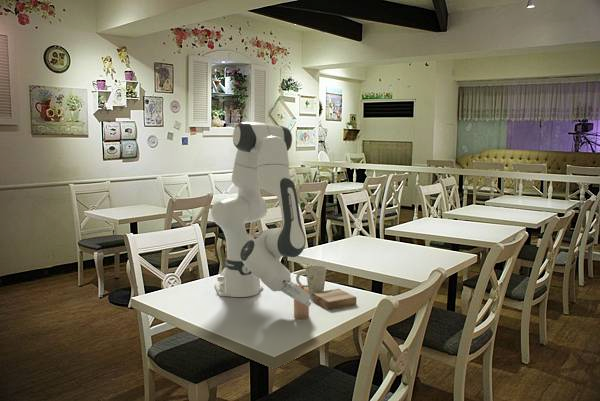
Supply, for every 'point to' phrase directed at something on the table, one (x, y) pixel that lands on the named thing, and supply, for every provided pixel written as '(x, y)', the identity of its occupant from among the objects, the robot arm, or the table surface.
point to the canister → (301, 307)
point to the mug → (314, 278)
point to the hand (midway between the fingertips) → (303, 301)
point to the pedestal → (334, 299)
